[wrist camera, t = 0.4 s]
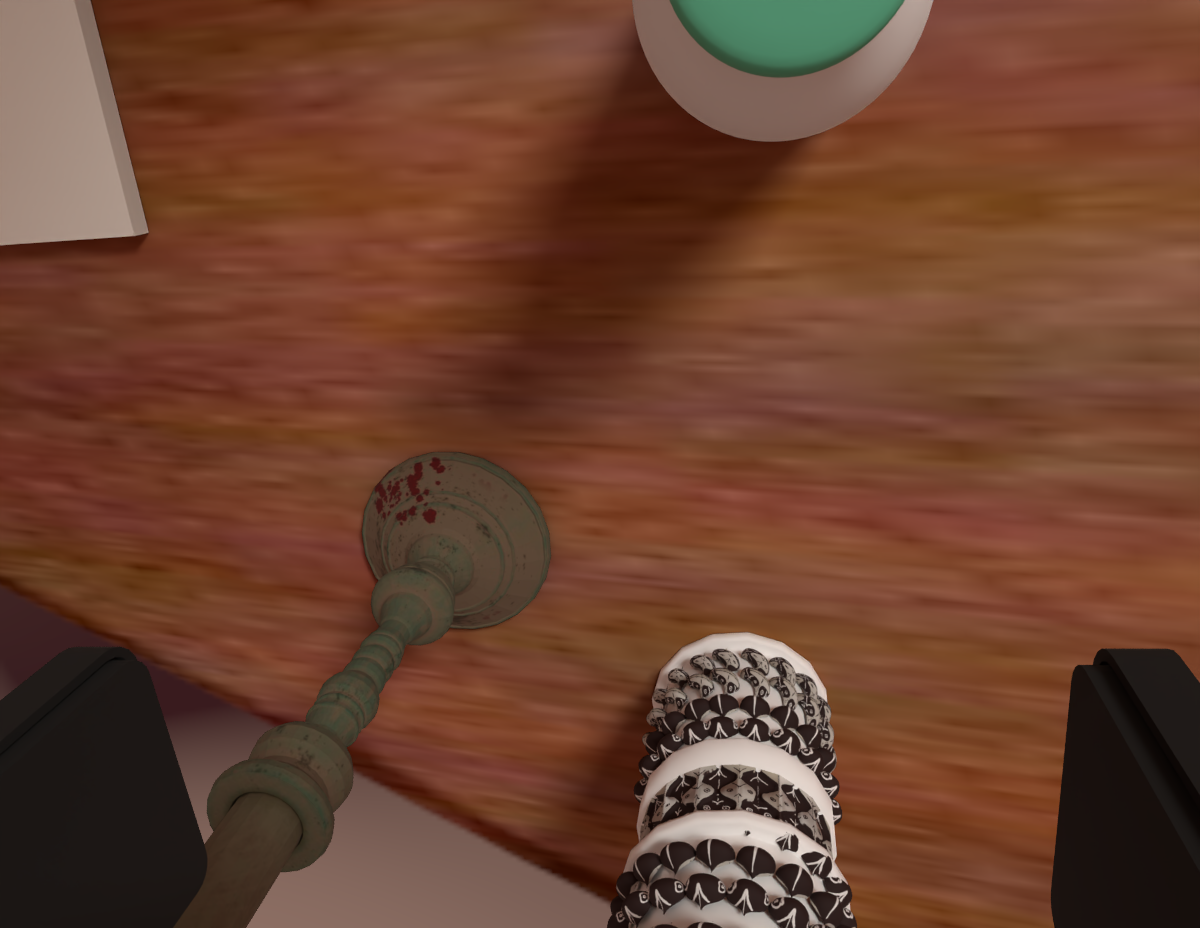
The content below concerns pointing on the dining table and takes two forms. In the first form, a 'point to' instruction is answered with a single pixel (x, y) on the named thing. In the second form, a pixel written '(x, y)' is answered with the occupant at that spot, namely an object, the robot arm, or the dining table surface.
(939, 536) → the dining table surface
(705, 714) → the decorative candle
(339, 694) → the candlestick holder
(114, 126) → the tile
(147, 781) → the robot arm
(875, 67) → the milk bottle
